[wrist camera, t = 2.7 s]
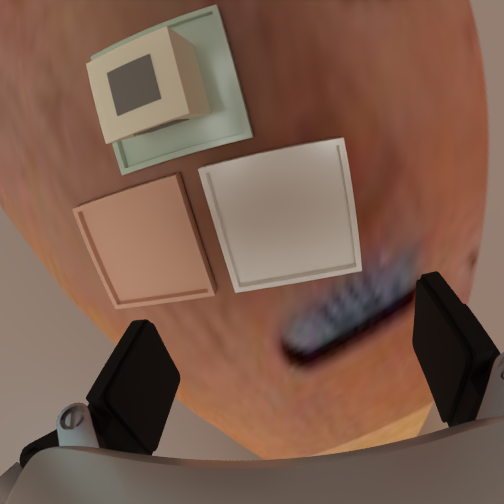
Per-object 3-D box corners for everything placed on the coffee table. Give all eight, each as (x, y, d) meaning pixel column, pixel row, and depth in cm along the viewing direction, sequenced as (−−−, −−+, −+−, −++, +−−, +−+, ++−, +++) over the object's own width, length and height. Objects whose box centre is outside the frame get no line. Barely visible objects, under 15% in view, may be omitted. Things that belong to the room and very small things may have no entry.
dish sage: (97, 57, 17) (90, 56, 16) (219, 8, 15) (216, 4, 15) (128, 172, 21) (121, 175, 20) (254, 136, 19) (252, 137, 18)
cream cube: (126, 70, 17) (85, 63, 13) (193, 44, 16) (166, 25, 12) (143, 136, 19) (105, 145, 15) (211, 114, 18) (189, 114, 14)
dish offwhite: (201, 166, 20) (197, 168, 19) (340, 136, 19) (343, 137, 18) (237, 285, 24) (235, 292, 23) (359, 264, 22) (361, 270, 21)
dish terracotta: (78, 205, 22) (72, 209, 21) (180, 172, 21) (175, 175, 20) (120, 302, 26) (115, 309, 25) (217, 289, 24) (215, 295, 23)
